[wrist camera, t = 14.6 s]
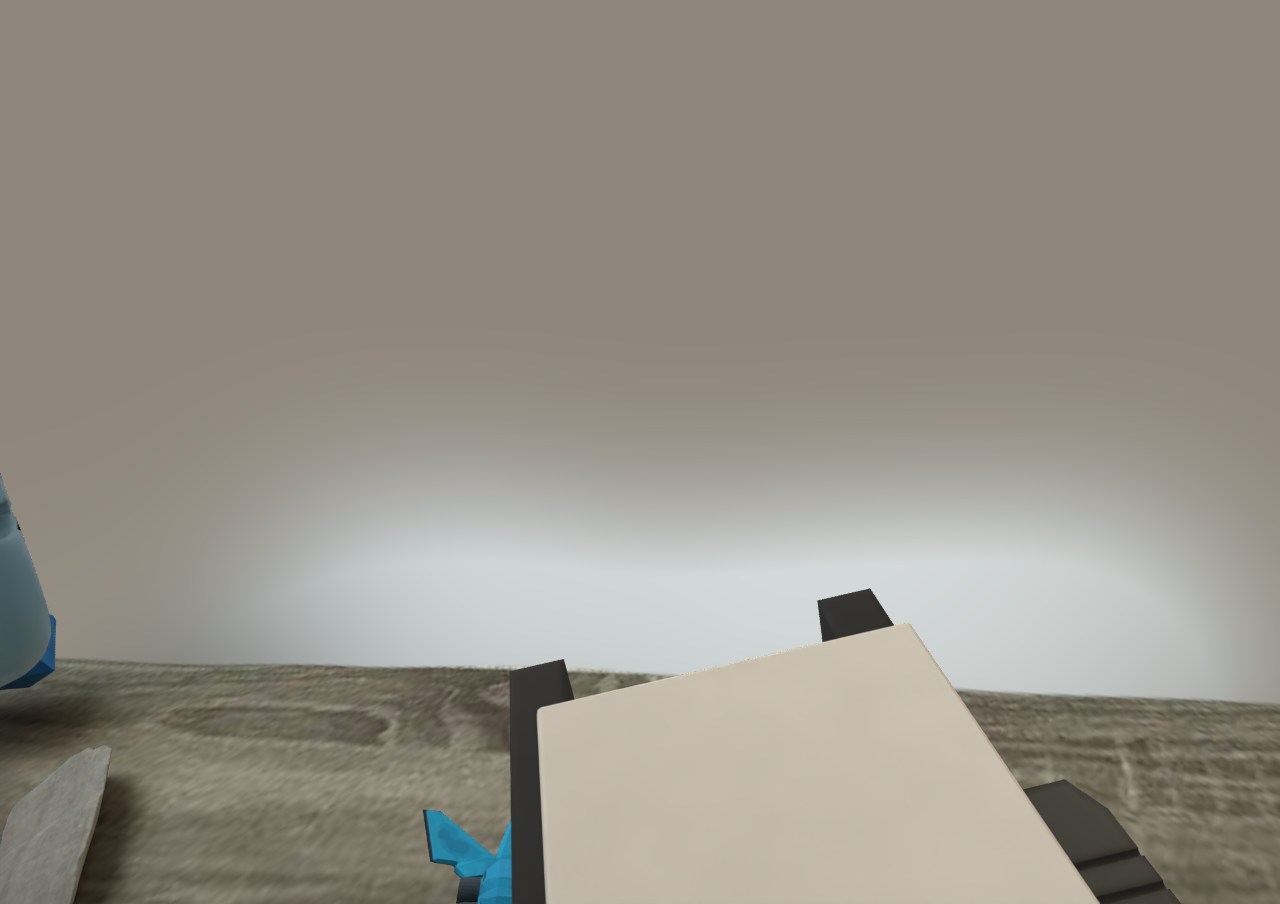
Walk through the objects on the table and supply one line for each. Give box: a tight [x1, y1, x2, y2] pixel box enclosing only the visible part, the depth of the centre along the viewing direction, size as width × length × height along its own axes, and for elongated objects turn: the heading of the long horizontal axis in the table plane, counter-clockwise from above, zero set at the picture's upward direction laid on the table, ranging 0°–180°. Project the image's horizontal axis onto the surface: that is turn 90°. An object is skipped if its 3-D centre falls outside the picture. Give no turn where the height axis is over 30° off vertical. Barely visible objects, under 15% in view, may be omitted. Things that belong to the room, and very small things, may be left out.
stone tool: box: [0, 746, 112, 904], centre depth 38 cm, size 14×1×5 cm
